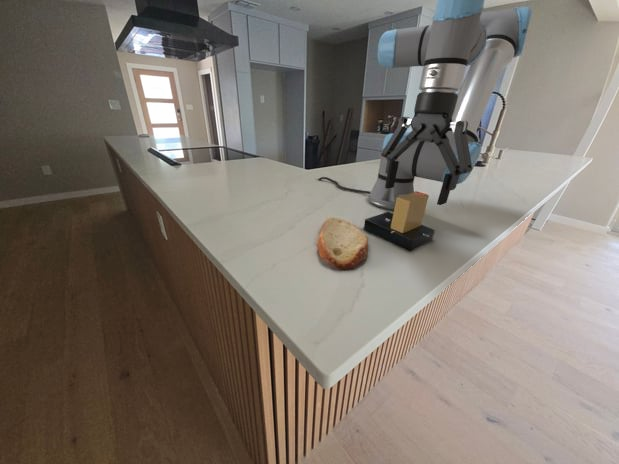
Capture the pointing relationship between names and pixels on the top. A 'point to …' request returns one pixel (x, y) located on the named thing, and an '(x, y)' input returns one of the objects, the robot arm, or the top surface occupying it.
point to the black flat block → (406, 240)
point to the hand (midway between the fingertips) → (413, 195)
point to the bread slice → (342, 244)
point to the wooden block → (409, 211)
